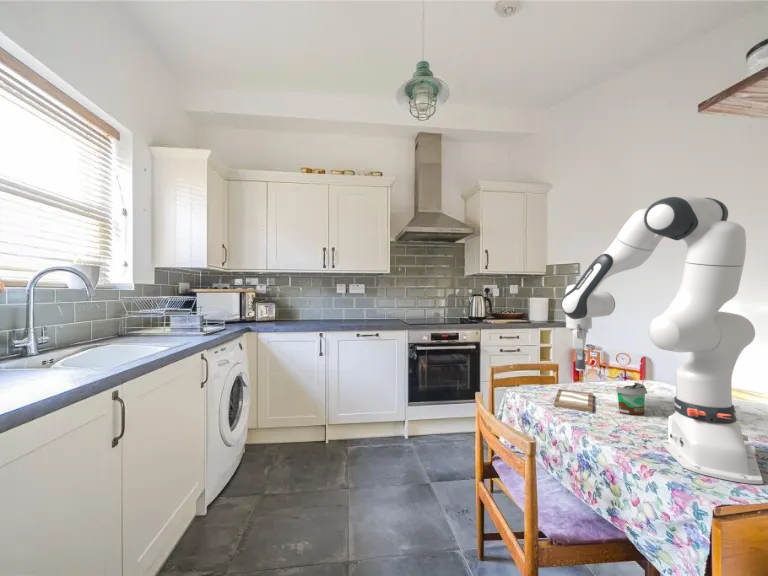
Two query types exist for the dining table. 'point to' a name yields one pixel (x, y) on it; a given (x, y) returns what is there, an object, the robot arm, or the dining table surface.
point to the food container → (631, 399)
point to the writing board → (574, 400)
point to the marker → (580, 362)
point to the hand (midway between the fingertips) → (580, 358)
